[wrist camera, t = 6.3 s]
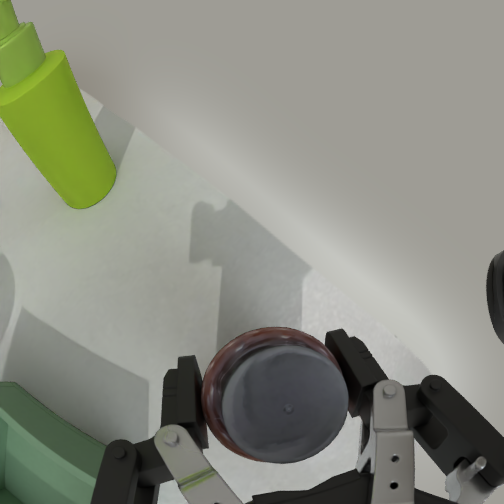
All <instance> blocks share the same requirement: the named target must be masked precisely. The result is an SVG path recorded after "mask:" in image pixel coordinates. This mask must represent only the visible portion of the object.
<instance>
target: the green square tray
mask: <svg viewBox="0 0 504 504" xmlns="http://www.w3.org/2000/svg"><path fill="white" fill-rule="evenodd" d="M106 447H107V446H105V445H103V444H102V443H100V442H98V441H96V440H95V439H93V438H91V437H90V436H88V435H86V434H85V433H83V432H81V431H80V430H78V429H77V428H75V427H74V426H72V425H71V424H69V423H68V422H66V421H65V420H63V419H62V418H60V417H59V416H57V415H56V414H55V413H53V412H52V411H50V410H49V409H48V408H46V407H45V406H44V405H42V404H41V403H40V402H38V401H37V400H36V399H35V398H33V397H32V396H31V395H30V394H28V393H27V392H26V391H25V390H24V389H22V388H21V387H20V386H19V385H18V384H17V383H16V382H0V504H90V503H91V499H92V495H93V491H94V487H95V483H96V479H97V476H98V472H99V469H100V465H101V462H102V458H103V455H104V451H105V449H106Z"/></svg>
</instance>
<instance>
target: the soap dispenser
mask: <svg viewBox="0 0 504 504" xmlns="http://www.w3.org/2000/svg"><path fill="white" fill-rule="evenodd" d="M0 80H1V82H2V84H3V85H2V86H1V87H0V117H1V119H2V120H3V122H4V123H5V125H6V126H7V127H8V129H9V130H10V132H11V133H12V135H13V136H14V137H15V139H16V140H17V142H18V143H19V144H20V146H21V147H22V149H23V150H24V151H25V153H26V154H27V155H28V157H29V158H30V159H31V160H32V162H33V163H34V164H35V166H36V167H37V168H38V170H39V171H40V172H41V173H42V175H43V176H44V177H45V178H46V179H47V181H48V182H49V183H50V184H51V186H52V187H53V188H54V189H55V190H56V192H57V193H58V194H59V195H60V196H61V197H62V199H63V200H64V201H65V202H66V203H67V204H68V205H69V206H70V207H72V208H76V209H83V208H87V207H90V206H92V205H94V204H96V203H97V202H99V201H100V200H101V199H103V198H104V197H105V196H106V195H107V193H108V192H109V191H110V189H111V188H112V186H113V184H114V181H115V178H116V168H115V165H114V163H113V161H112V159H111V157H110V155H109V153H108V151H107V149H106V147H105V145H104V143H103V141H102V139H101V137H100V135H99V133H98V131H97V129H96V126H95V124H94V122H93V120H92V118H91V116H90V113H89V111H88V109H87V107H86V104H85V102H84V100H83V97H82V95H81V93H80V90H79V88H78V86H77V83H76V81H75V78H74V76H73V73H72V71H71V68H70V66H69V63H68V60H67V58H66V55H65V53H64V51H62V50H54V51H50V52H48V53H44V51H43V48H42V46H41V43H40V41H39V38H38V35H37V33H36V30H35V27H34V24H33V23H32V22H29V23H26V24H25V23H24V22H23V23H20V24H19V23H18V20H17V17H16V15H15V12H14V9H13V6H12V3H11V0H0Z"/></svg>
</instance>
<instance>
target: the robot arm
mask: <svg viewBox="0 0 504 504" xmlns="http://www.w3.org/2000/svg"><path fill="white" fill-rule="evenodd" d="M503 293H504V275H503ZM325 346H326V347H327V348H328V350H329V351H330V352H331V353H332V354H333V356H334V357H335V359H336V361H337V362H338V364H339V366H340V368H341V370H342V373H343V377H344V380H345V383H346V387H347V390H348V411H349V413H350V415H351V417H352V418H353V417H356V416H359V415H360V417H361V419H362V421H361V426H360V441H359V452H358V460H357V463H356V467H355V469H354V470H351V471H348V472H346V473H343V474H340V475H337V476H334V477H332V478H330V479H328V480H326V481H325V482H323V483H321V484H319V485H317V486H315V487H313V488H312V489H309V490H302V491H276V492H271V493H265V494H260V495H254V496H252V498H253V500H252V501H250V502H247V503H245V504H482V503H483V502H484V501H485V500H486V499H487V498H488V497H489V496H490V495H491V494H492V493H493V491H494V490H495V489H497V488H498V487H500V486H501V485H503V484H504V437H503V436H502V435H501V434H500V433H499V432H498V431H497V430H496V429H495V428H494V427H493V426H492V425H491V424H490V423H489V422H488V421H487V420H486V419H485V418H484V417H483V416H482V415H481V414H480V413H479V412H478V411H477V410H476V409H475V408H474V407H473V406H472V405H471V404H470V403H469V402H468V401H467V400H466V399H465V398H464V397H463V396H462V395H460V393H458V392H457V391H456V390H455V389H454V388H453V387H452V386H451V385H450V384H449V383H448V382H447V381H446V380H445V379H444V378H442V377H441V376H438V375H429V376H427V377H425V378H424V379H423V380H422V382H421V384H418V385H409V386H402V385H401V384H400V383H399V382H397V381H395V380H389V379H388V377H387V376H386V374H385V373H384V372H383V370H382V369H381V367H380V366H379V364H378V363H377V361H376V360H375V359H374V357H372V354H371V353H370V351H368V349H367V347H366V346H365V344H364V343H363V342H362V341H361V340H359V339H358V338H356V337H355V336H353V337H350V338H349V337H348V335H347V334H346V332H345V331H344V330H343V329H338V330H334V331H329V332H327V333H326V338H325ZM202 382H203V381H202V377H201V374H200V370H199V367H198V364H197V360H196V357H195V355H192V356H183V357H178V369H169V370H168V372H167V373H166V375H165V377H164V381H163V397H162V413H161V427H160V429H159V430H158V431H157V432H156V434H155V436H154V437H152V438H151V439H148V440H146V441H142V442H139V443H136V444H132V443H131V442H129V441H127V440H122V439H120V440H115V441H113V442H111V443H110V444H108V446H107V447H106V449H105V451H104V455H103V458H102V462H101V465H100V469H99V472H98V476H97V479H96V483H95V487H94V491H93V495H92V499H91V503H90V504H157V501H158V494H159V487H160V484H161V483H164V482H167V481H170V480H174V479H175V480H176V482H177V484H178V487H179V489H180V491H181V493H182V494H183V496H184V497H185V499H186V500H187V502H188V503H189V504H243V503H242V501H241V500H240V499H239V498H238V497H237V496H236V494H235V493H234V492H233V491H232V490H231V489H230V487H229V486H228V485H227V484H226V482H225V481H224V480H223V479H222V477H221V476H220V475H219V474H218V472H217V471H216V470H215V469H214V468H213V467H212V466H211V465H210V463H209V462H208V460H207V459H206V458H205V456H204V455H203V449H206V448H209V446H208V436H207V425H206V420H205V418H204V415H203V411H202V405H201V388H202ZM414 438H415V439H416V441H417V442H418V443H419V444H420V445H421V447H422V448H423V449H424V450H425V451H426V453H427V454H428V455H429V456H430V457H431V459H432V460H433V461H434V462H435V463H436V464H437V466H438V467H439V468H440V469H441V470H442V472H443V473H444V474H445V475H446V476H447V477H446V481H445V485H446V486H445V490H446V492H448V493H449V500H447V499H444V498H441V497H438V496H435V495H432V494H429V493H427V492H424V491H421V490H418V489H416V488H414V481H415V480H414V479H415V476H414V475H415V468H414V467H415V465H414V464H415V462H414Z"/></svg>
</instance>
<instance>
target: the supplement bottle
mask: <svg viewBox="0 0 504 504" xmlns="http://www.w3.org/2000/svg"><path fill="white" fill-rule="evenodd" d="M201 405H202V411H203V415H204V418H205V420H206V423H207V425H208V427H209V428H210V430H211V432H212V433H213V435H214V436H215V437H216V438H217V439H218V440H219V441H220V443H221V444H222V445H224V446H225V447H226V448H228V449H229V450H230V451H232V452H234V453H236V454H238V455H240V456H242V457H244V458H247V459H250V460H254V461H260V462H269V463H280V464H285V463H294V462H298V461H302V460H305V459H307V458H310V457H312V456H314V455H316V454H318V453H319V452H320V451H322V450H323V449H325V448H326V447H327V446H328V445H329V444H330V443H331V442H332V441H333V440H334V439H335V437H336V436H337V435H338V434H339V431H340V430H341V428H342V427H343V425H344V422H345V419H346V416H347V411H348V390H347V387H346V383H345V380H344V377H343V373H342V370H341V368H340V366H339V364H338V362H337V361H336V359H335V357H334V356H333V354H332V353H331V352H330V351H329V350H328V348H327V347H326V346H325V345H323V344H322V343H321V342H320V341H319V340H317V339H316V338H314V337H313V336H311V335H309V334H307V333H304V332H301V331H298V330H295V329H291V328H287V327H266V328H260V329H256V330H252V331H249V332H246V333H244V334H242V335H240V336H238V337H236V338H235V339H233V340H232V341H230V342H229V343H228V344H227V345H225V346H224V347H223V348H222V349H221V350H220V351H219V352H218V353H217V354H216V355H215V357H214V358H213V360H212V361H211V363H210V364H209V366H208V368H207V370H206V372H205V375H204V378H203V382H202V388H201Z"/></svg>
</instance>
